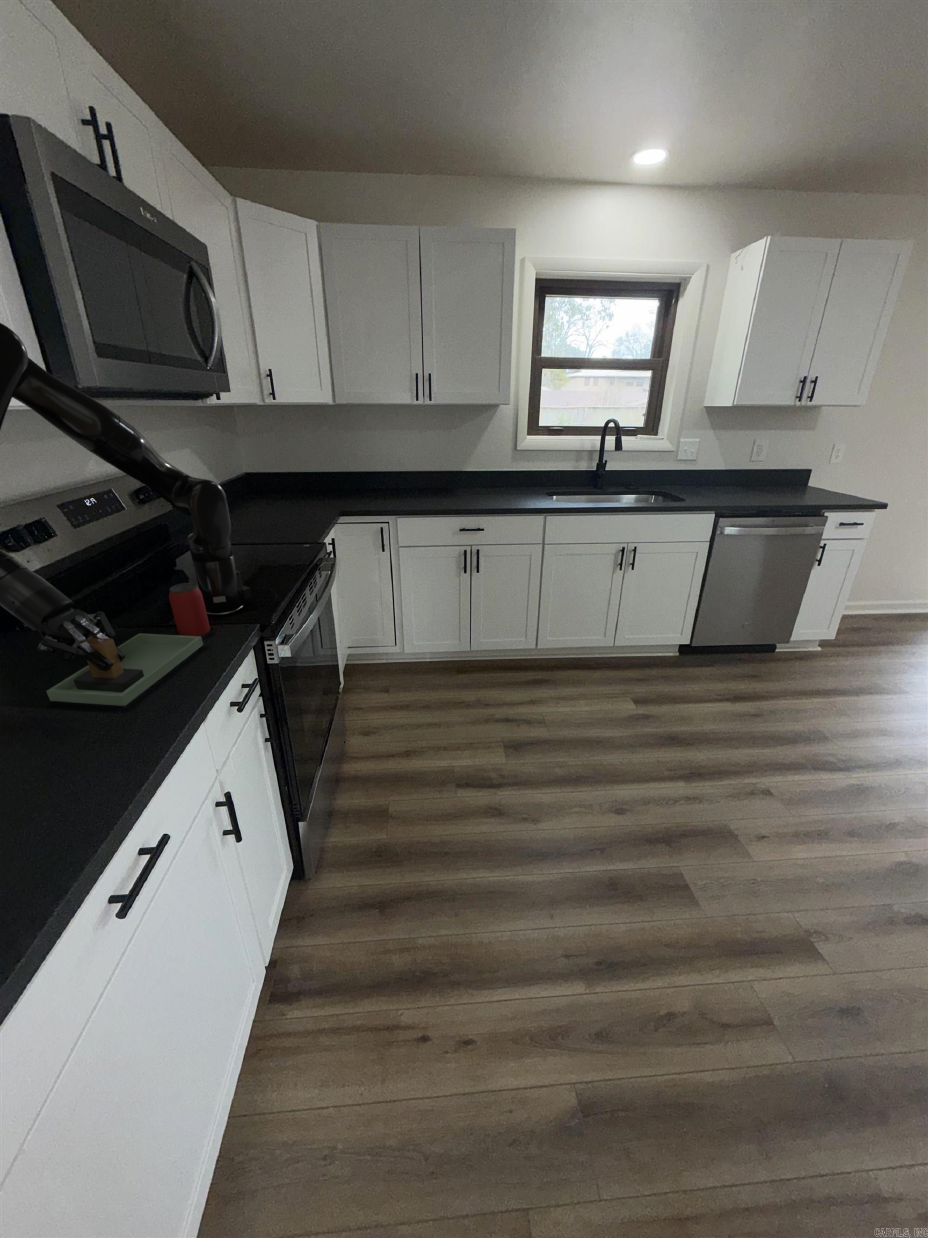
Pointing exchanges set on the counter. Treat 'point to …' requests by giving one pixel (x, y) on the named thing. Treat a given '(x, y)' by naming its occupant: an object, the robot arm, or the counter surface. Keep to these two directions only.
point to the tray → (140, 653)
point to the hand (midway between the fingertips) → (115, 663)
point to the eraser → (110, 679)
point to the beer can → (189, 610)
